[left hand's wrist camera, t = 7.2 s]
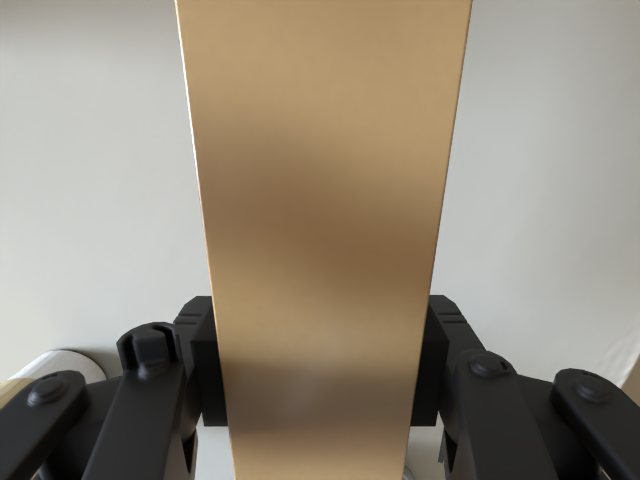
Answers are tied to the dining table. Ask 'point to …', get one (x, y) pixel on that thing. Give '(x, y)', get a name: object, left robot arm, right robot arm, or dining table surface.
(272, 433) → the bar
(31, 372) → the coffee cup
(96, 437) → the left robot arm
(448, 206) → the dining table surface
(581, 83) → the dining table surface
